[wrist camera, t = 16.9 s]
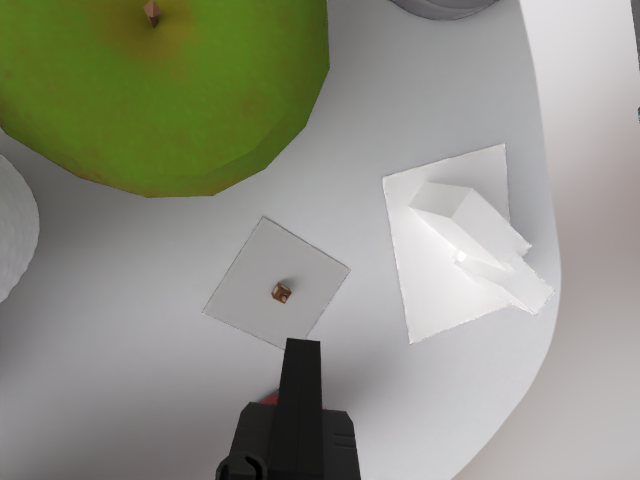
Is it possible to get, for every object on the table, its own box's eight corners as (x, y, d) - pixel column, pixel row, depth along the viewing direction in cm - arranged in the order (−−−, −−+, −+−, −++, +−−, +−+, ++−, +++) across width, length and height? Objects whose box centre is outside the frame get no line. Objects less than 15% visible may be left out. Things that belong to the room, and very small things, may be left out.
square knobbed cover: (350, 269, 27) (360, 278, 25) (295, 354, 27) (300, 368, 25) (262, 216, 24) (266, 221, 22) (201, 312, 24) (200, 324, 22)
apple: (279, -33, 21) (345, -229, 10) (292, 175, 24) (352, 193, 13) (33, -57, 17) (-254, -384, 7) (85, 188, 20) (-56, 225, 10)
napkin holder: (379, 177, 25) (421, 184, 20) (505, 140, 28) (573, 137, 22) (410, 346, 30) (452, 387, 25) (516, 302, 32) (575, 331, 27)
